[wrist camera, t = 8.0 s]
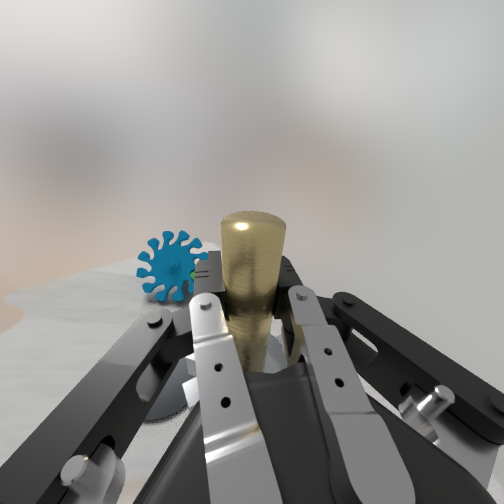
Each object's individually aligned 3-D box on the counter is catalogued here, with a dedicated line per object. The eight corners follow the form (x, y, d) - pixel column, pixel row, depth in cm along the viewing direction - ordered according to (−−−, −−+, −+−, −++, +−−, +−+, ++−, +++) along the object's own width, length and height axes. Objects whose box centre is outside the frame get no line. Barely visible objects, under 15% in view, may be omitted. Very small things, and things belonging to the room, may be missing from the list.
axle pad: (179, 434, 17) (178, 432, 17) (96, 403, 19) (95, 401, 19) (218, 346, 24) (218, 344, 24) (154, 329, 25) (153, 327, 25)
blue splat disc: (121, 289, 28) (150, 220, 30) (145, 291, 34) (167, 233, 36) (200, 314, 27) (224, 241, 29) (210, 311, 33) (230, 250, 35)
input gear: (293, 476, 11) (378, 318, 5) (162, 426, 13) (91, 254, 6) (302, 346, 18) (344, 205, 11) (214, 323, 19) (206, 186, 13)
